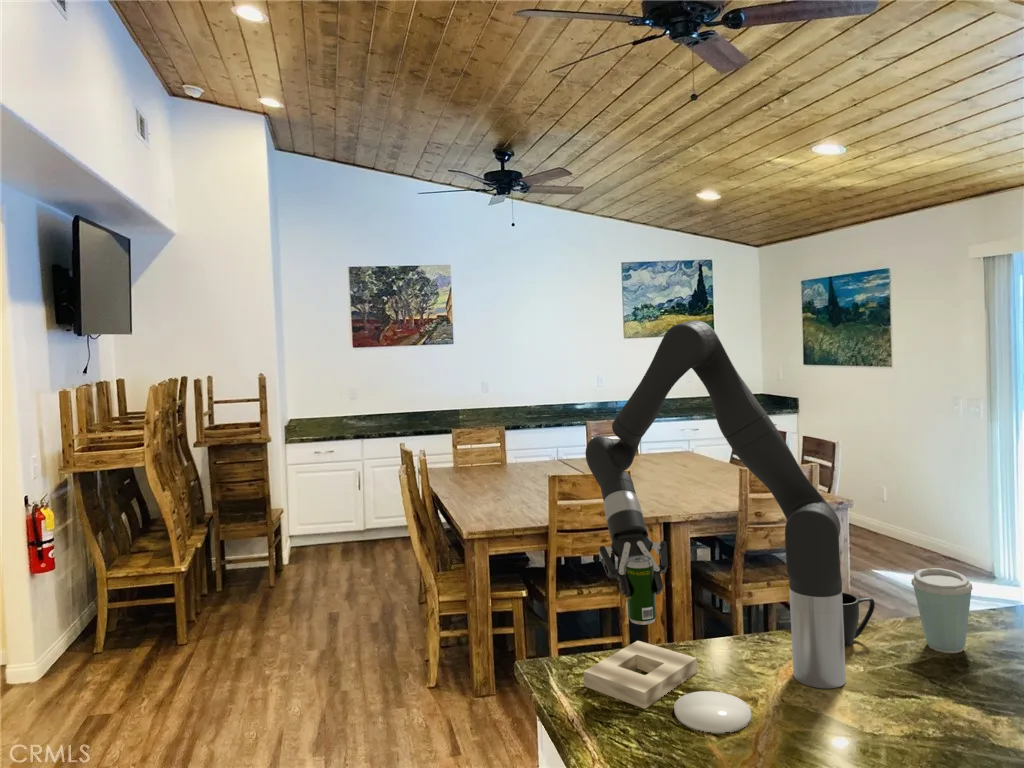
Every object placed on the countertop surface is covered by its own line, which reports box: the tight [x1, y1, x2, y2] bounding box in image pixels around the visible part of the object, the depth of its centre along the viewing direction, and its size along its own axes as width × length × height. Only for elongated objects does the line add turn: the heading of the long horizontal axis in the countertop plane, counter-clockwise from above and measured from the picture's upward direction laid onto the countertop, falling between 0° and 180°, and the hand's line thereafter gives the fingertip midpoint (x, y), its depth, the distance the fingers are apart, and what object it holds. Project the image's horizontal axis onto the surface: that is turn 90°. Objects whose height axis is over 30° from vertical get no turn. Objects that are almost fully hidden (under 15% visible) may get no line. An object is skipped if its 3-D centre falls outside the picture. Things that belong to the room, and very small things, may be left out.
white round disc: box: [673, 690, 752, 734], centre depth 124 cm, size 13×13×1 cm
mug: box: [842, 591, 876, 648], centre depth 150 cm, size 8×12×10 cm
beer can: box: [625, 555, 657, 625], centre depth 137 cm, size 5×5×12 cm
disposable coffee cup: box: [910, 567, 974, 654], centre depth 144 cm, size 11×11×15 cm
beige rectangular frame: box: [583, 640, 698, 710], centre depth 138 cm, size 18×14×3 cm
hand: (643, 593), depth 135 cm, fingers closed on beer can, 5 cm apart
